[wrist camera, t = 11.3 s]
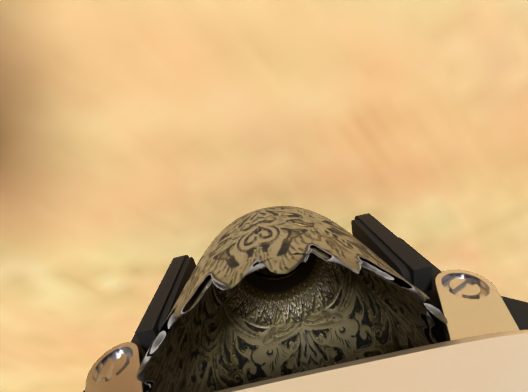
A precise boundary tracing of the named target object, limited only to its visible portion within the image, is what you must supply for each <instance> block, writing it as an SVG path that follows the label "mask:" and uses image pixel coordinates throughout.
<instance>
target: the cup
mask: <svg viewBox="0 0 528 392" xmlns="http://www.w3.org/2000/svg"><path fill="white" fill-rule="evenodd" d="M428 298H429V297H428V296H427V295H426V294H424V293H423V292H422V291H421V290H419V289H418V288H416V287H415V286H413V285H412V284H410V283H409V282H408V281H406V280H405V279H404V278H403V277H402V276H401V275H399V274H398V273H397V272H396V271H395V270H394V269H392V268H391V267H390V266H389V265H388V264H387V263H385V262H384V261H383V260H382V259H381V258H379V257H378V256H377V255H376V254H375V253H374V252H372V251H371V250H370V249H369V248H368V247H366V246H365V245H364V244H363V243H361V242H360V241H359V240H358V239H356V238H355V237H354V236H353V235H351V234H350V233H349V232H347V231H346V230H345V229H343V228H342V227H340V226H339V225H338V224H336V223H334V222H333V221H331V220H330V219H328V218H326V217H324V216H322V215H320V214H317V213H315V212H312V211H310V210H306V209H303V208H298V207H290V206H276V207H268V208H263V209H259V210H256V211H253V212H251V213H248V214H246V215H244V216H242V217H240V218H238V219H237V220H235V221H234V222H232V223H231V224H230V225H229V226H227V227H226V228H225V229H224V230H223V231H222V232H221V233H220V234H219V235H218V236H217V237H216V238H215V239H214V241H213V242H212V243H211V245H210V246H209V247H208V249H207V250H206V251H205V253H204V254H203V256H202V257H201V259H200V261H199V262H198V264H197V266H196V267H195V269H194V271H193V273H192V274H191V276H190V278H189V280H188V281H187V283H186V285H185V287H184V289H183V290H182V292H181V294H180V296H179V297H178V299H177V301H176V303H175V305H174V306H173V308H172V310H171V312H170V314H169V316H168V317H167V319H166V321H165V323H164V324H163V326H162V328H161V329H160V331H159V333H158V334H157V336H156V338H155V339H154V341H153V343H152V344H151V346H150V348H149V350H148V351H147V353H146V355H145V357H144V359H143V360H142V362H141V364H140V366H139V369H138V371H137V375H136V377H137V380H138V381H141V382H144V383H145V387H147V388H148V389H149V391H147V392H214V391H219V390H223V389H228V388H232V387H237V386H241V385H245V384H250V383H254V382H259V381H263V380H268V379H272V378H277V377H281V376H286V375H290V374H295V373H300V372H304V371H309V370H313V369H318V368H322V367H327V366H331V365H336V364H341V363H345V362H350V361H355V360H359V359H364V358H369V357H373V356H378V355H383V354H387V353H392V352H397V351H401V350H406V349H411V348H415V347H420V346H425V345H430V344H435V343H438V342H437V340H436V339H435V338H434V337H433V335H432V333H431V327H433V326H434V325H435V323H434V321H433V319H432V318H431V316H430V315H429V314H428V312H430V313H431V314H433V315H434V316H435V317H436V318H437V319H439V320H440V321H441V322H443V323H445V324H448V321H447V319H446V317H445V316H444V315H443V313H442V312H441V311H440V310H439V309H438V308H437V307H436V306H435V305H434V304H433V303H432V302H430V301H429V300H428ZM427 309H428V310H430V311H428V310H427ZM427 311H428V312H427Z"/></svg>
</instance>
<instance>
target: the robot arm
mask: <svg viewBox="0 0 528 392" xmlns="http://www.w3.org/2000/svg"><path fill="white" fill-rule="evenodd" d="M351 224H352V233H353V236H354V237H355V238H356V239H358V240H359V241H360V242H361V243H363V244H364V245H365V246H366V247H368V248H369V249H370V250H371V251H372V252H374V253H375V254H376V255H377V256H378V257H379V258H381V259H382V260H383V261H384V262H385V263H387V264H388V265H389V266H390V267H391V268H392V269H394V270H395V271H396V272H397V273H398V274H399V275H401V276H402V277H403V278H404V279H405V280H406V281H408V282H409V283H410V284H412V285H413V286H415V287H416V288H418V289H419V290H421V291H422V292H423V293H424V294H426V295H427V296H428V297H429V298H428V300H429V301H430V302H432V303H433V304H434V305H435V306H436V307H437V308H438V309H439V310H440V311H441V312H442V313H443V315H444V316H445V317H446V319H447V321H448V324H445V323H443V322H441V321H440V320H439V319H437V318H436V317H435V316H434V315H433V314H431V313H430V312H428V311H430V310H428V309H427V310H428V311H427V312H428V314H429V315H430V316H431V318H432V319H433V321H434V323H435V325H434V326H433V327H431V333H432V335H433V337H434V338H435V339H436V340H437V342H438V343H435V344H430V345H425V346H420V347H415V348H411V349H406V350H401V351H397V352H392V353H387V354H383V355H378V356H373V357H369V358H364V359H359V360H355V361H350V362H345V363H341V364H336V365H331V366H327V367H322V368H318V369H313V370H309V371H304V372H300V373H295V374H290V375H286V376H281V377H277V378H272V379H268V380H263V381H259V382H254V383H250V384H245V385H241V386H237V387H232V388H228V389H223V390H219V391H214V392H528V303H527V302H523V301H519V300H515V299H511V298H507V297H503V296H500V294H499V292H498V290H497V288H496V287H495V286H494V285H493V283H492V282H490V281H489V280H488V279H486V278H485V277H483V276H480V275H478V274H476V273H473V272H469V271H464V270H447V271H443V272H441V271H440V270H439V269H438V268H436V267H435V266H434V265H433V264H431V263H430V262H429V261H428V260H427V259H425V258H424V257H423V256H422V255H421V254H419V253H418V252H417V251H416V250H415V249H413V248H412V247H411V246H410V245H408V244H407V243H406V242H405V241H404V240H402V239H401V238H399V237H397V236H395V235H394V234H393V233H392V232H391V231H390V230H388V229H387V228H386V227H385V226H384V225H382V224H381V223H380V222H379V221H378V220H376V219H375V218H374V217H373V216H372V215H370V214H369V213H368V214H363V215H359V216H356V217H355V220H352V222H351ZM195 267H196V264H195V262H194V259H193V258H192V257H190V258H189V257H188V255H185V256H180V257H176V258H174V259H173V260H172V262H171V264H170V266H169V268H168V270H167V272H166V274H165V276H164V278H163V280H162V281H161V283H160V285H159V287H158V289H157V291H156V293H155V295H154V297H153V299H152V301H151V303H150V305H149V307H148V309H147V311H146V313H145V315H144V316H143V318H142V320H141V322H140V324H139V326H138V328H137V330H136V332H135V335H134V337H133V339H132V341H131V342H127V343H122V344H119V345H117V346H115V347H113V348H112V349H110V350H109V351H107V352H106V353H104V354H103V355H102V356H101V357H100V358H99V359H98V360H97V361H96V362H95V363H94V365H93V366H92V368H91V369H90V371H89V373H88V376H87V380H86V387H85V390H84V391H83V392H147V391H149V389H148V388H147V387H145V383H144V382H141V381H138V380H137V377H136V375H137V371H138V369H139V366H140V364H141V362H142V360H143V359H144V357H145V355H146V353H147V351H148V350H149V348H150V346H151V344H152V343H153V341H154V339H155V338H156V336H157V334H158V333H159V331H160V329H161V328H162V326H163V324H164V323H165V321H166V319H167V317H168V316H169V314H170V312H171V310H172V308H173V306H174V305H175V303H176V301H177V299H178V297H179V296H180V294H181V292H182V290H183V289H184V287H185V285H186V283H187V281H188V280H189V278H190V276H191V274H192V273H193V271H194V269H195Z"/></svg>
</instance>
